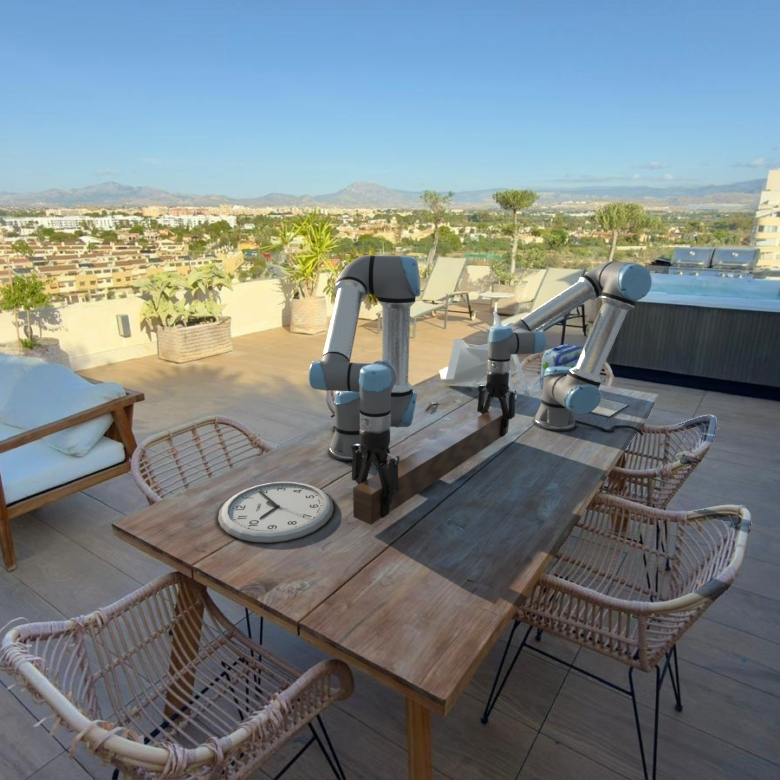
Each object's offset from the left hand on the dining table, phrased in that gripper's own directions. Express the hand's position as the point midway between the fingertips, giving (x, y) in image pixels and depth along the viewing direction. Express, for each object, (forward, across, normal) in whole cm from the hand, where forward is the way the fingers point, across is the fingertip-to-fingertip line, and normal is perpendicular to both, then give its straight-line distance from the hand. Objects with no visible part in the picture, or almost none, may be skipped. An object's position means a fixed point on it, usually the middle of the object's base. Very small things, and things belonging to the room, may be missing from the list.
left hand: (374, 510), depth 135 cm
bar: (+1, 0, +34) cm, 34 cm away
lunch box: (+5, -4, +147) cm, 147 cm away
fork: (+4, -37, +86) cm, 93 cm away
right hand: (+1, 0, +68) cm, 68 cm away
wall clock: (+3, -23, -13) cm, 27 cm away
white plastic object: (+5, -31, +117) cm, 121 cm away
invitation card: (+5, +20, +132) cm, 134 cm away
